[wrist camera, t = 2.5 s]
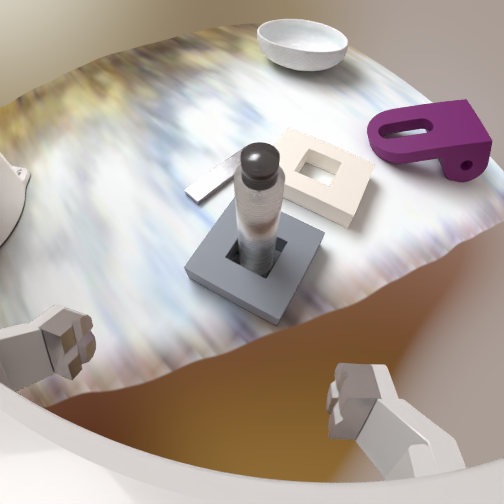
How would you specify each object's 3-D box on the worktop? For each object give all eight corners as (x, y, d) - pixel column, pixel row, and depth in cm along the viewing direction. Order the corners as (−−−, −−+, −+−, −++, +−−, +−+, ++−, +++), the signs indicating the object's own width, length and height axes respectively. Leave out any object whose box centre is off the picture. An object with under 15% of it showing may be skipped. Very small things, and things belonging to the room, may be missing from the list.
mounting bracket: (381, 195, 43) (484, 179, 36) (374, 158, 36) (492, 141, 29) (370, 151, 47) (464, 137, 40) (361, 114, 41) (466, 99, 33)
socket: (188, 277, 31) (184, 267, 28) (239, 205, 35) (238, 192, 32) (276, 326, 28) (279, 319, 26) (320, 244, 32) (324, 232, 30)
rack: (254, 184, 36) (254, 171, 34) (286, 141, 39) (288, 127, 37) (347, 228, 33) (353, 216, 31) (369, 177, 37) (375, 164, 35)
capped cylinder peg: (233, 266, 31) (221, 163, 18) (250, 240, 33) (249, 131, 19) (263, 281, 30) (272, 184, 17) (278, 255, 32) (297, 149, 18)
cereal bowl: (241, 53, 52) (241, 24, 46) (307, 42, 56) (311, 16, 49) (288, 91, 45) (292, 55, 39) (359, 76, 49) (367, 47, 43)
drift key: (199, 207, 35) (197, 201, 34) (186, 196, 36) (184, 190, 35) (258, 162, 38) (259, 155, 37) (245, 152, 39) (245, 146, 38)
